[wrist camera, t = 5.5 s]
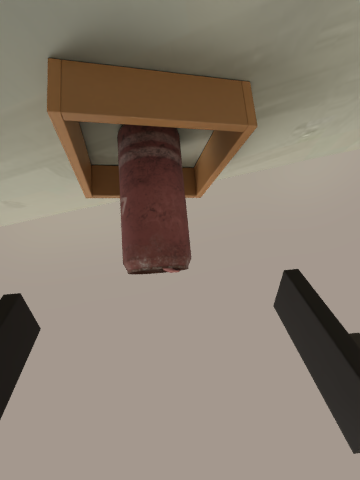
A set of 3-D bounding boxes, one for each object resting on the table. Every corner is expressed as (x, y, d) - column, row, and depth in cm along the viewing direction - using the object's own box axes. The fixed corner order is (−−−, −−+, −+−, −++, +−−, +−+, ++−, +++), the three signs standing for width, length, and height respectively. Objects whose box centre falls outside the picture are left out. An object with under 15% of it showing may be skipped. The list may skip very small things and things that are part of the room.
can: (157, 156, 28) (167, 274, 26) (107, 139, 24) (112, 277, 22) (192, 129, 24) (208, 268, 21) (137, 101, 20) (148, 270, 17)
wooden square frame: (85, 167, 29) (85, 198, 29) (47, 57, 15) (46, 111, 15) (197, 170, 33) (200, 197, 32) (250, 81, 19) (257, 126, 18)
